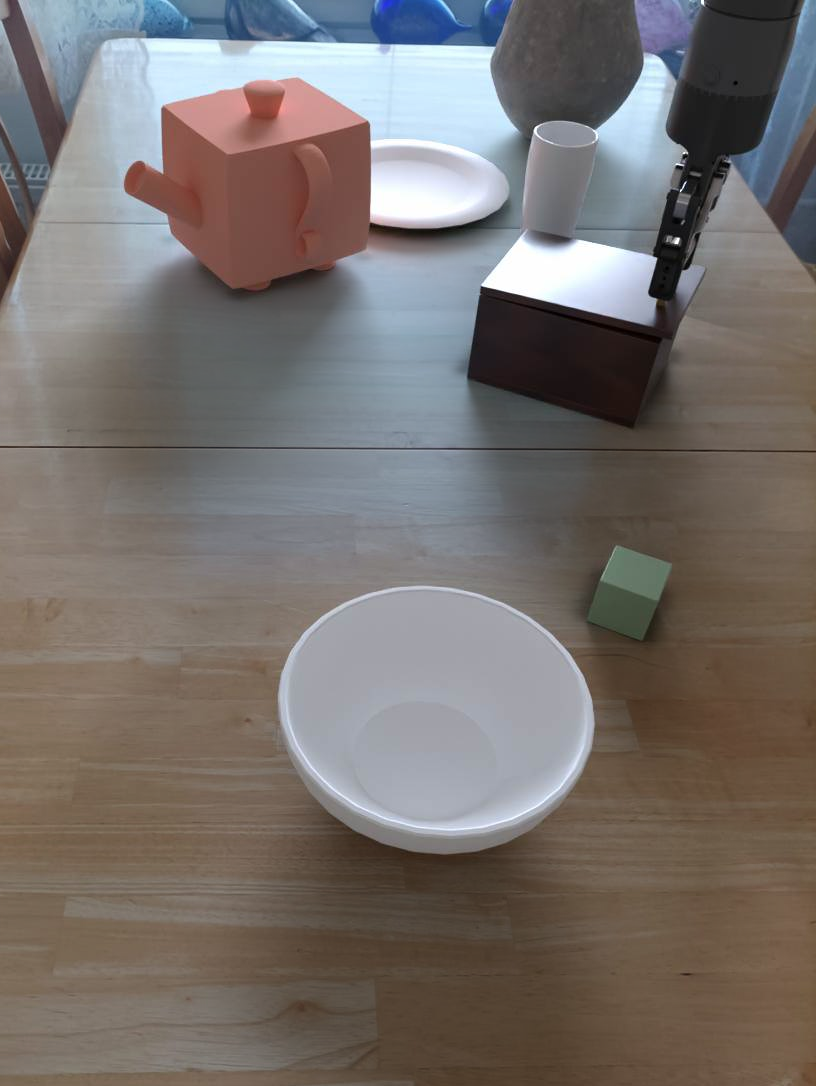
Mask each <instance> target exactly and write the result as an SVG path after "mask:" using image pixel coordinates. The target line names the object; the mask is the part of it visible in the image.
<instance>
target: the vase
mask: <svg viewBox="0 0 816 1086" xmlns="http://www.w3.org/2000/svg"><path fill="white" fill-rule="evenodd" d="M638 23H639V22H638V18H637V11H636V0H513V1H512V3H511V5H510V6H509V10H508V13H507V15H506V18H505V21H504V25H503V27H502V30H501V33H500V35H499V37H498V39H497V42H496V44H495V47H494V50H493V52H492V55H491V57H490V62H489V67H490V68H489V69H490V75H491V79H492V83H493V86H494V89H495V90H494V91H495V93H496V96H497V98H498V99H497V100H498V102H499V103H500V106H501V108H502V110H503V113H504V114H505V115H506V117H507V119H508V120H509V122H510V123H511V124H512V125H513V127H514V128H516V130H517V131H519V133H520V134H522V135H523V136H525V137H526V138H527V139H529V140H531V141H532V137H533V132H534V129H535V128H536V127H537V126H538V125H540V124H542V123H545V122H550V121H569V122H575V123H579V124H582V125H585V126H588V127H590V128H592V129H593V130H594V131H595V132H596V130H597V129H599V128H600V127H601V126H603V125H604V124H605V123H606V122H607V121H608V120H610V118H612V116H614V115H615V114H616V113H617V112H618V111H619V109H620V108H621V107H622V106H623V104H624V103H625V102H626V101H627V99H628V98H629V96H631V95H630V94H632V92H633V90H634V88H635V86H636V85H637V83H638V81H639V80H640V77H641V75H642V73H643V69H644V63H645V58H644V50H643V43H642V37H641V33H640V29H639V24H638Z"/></svg>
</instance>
